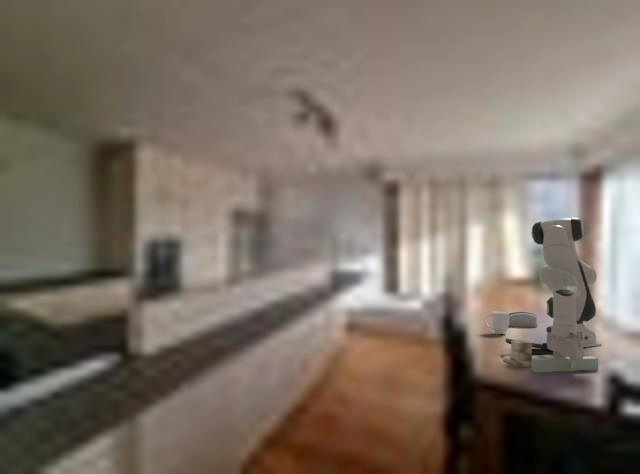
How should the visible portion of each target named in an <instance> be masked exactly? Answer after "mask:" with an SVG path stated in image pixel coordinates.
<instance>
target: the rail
mask: <svg viewBox="0 0 640 474" xmlns="http://www.w3.org/2000/svg"><path fill="white" fill-rule="evenodd" d="M570 362H571V360H570V357H554V358H532V366H531V371H532V372H535V373H553V372H552V371H563V372H572V371H571V370H588V371H598V370H599V357H596V356H592V355H589V356H587V355H586V356H585V355H584V357H583V359H577V362H576V364H575V369H571V368H569V364H570Z"/></svg>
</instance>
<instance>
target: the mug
mask: <svg viewBox="0 0 640 474" xmlns="http://www.w3.org/2000/svg"><path fill="white" fill-rule="evenodd" d="M509 313H510V312H509V311H502V310H495V311H491V313H490V314H488V315H487V316H486V318H485V319H486V325H487V327H488V328H490V329H491V330H493V331H494V334H495V335H497V334H505V335H507V331H508V329H509V327H510V326H509ZM489 317H491V326H490V325H489V324H488V321H487V320H488V318H489Z"/></svg>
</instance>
